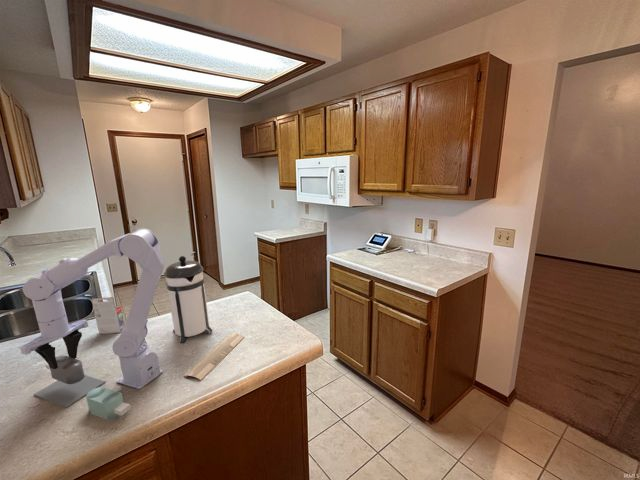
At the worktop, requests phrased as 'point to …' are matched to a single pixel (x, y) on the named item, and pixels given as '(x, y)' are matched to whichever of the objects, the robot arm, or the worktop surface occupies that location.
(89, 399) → the teal plug
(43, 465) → the worktop surface
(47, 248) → the worktop surface
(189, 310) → the coffee press
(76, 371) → the plug
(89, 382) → the mat
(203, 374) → the wooden plank
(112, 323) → the ink box
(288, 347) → the worktop surface
